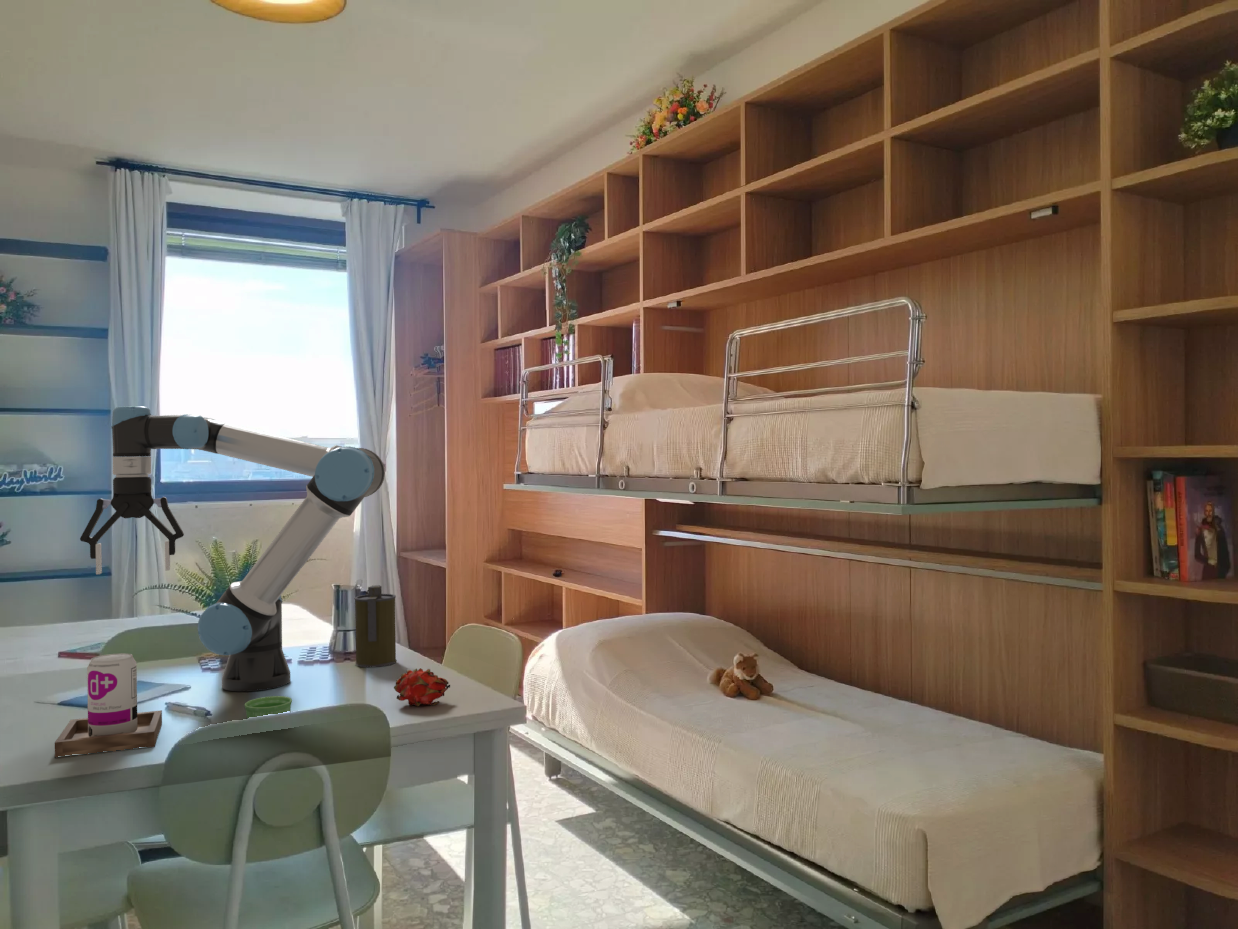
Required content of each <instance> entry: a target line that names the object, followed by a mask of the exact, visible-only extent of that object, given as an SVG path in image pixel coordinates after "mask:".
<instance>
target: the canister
mask: <svg viewBox="0 0 1238 929" xmlns="http://www.w3.org/2000/svg"><path fill="white" fill-rule="evenodd" d="M382 591H383V590H382V585H379V584H378V585H371V586H368V587H367V590H366V592H365V594H361V595H357V596H355V597H354V604H355V605H354V608H355V611H354V612H355V614H354V615H355V666H357V667H361V668H368V669H369V668H382V667H388V666H392V665H394V664H396V663H397V658H396V657H397V656H396V655H397V654H396V653H397V652H396V651H397V650H396V649H397V648H396V647H397V646H396V644H397V643H396V594H391V593H382Z"/></svg>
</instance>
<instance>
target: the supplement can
mask: <svg viewBox="0 0 1238 929" xmlns="http://www.w3.org/2000/svg"><path fill="white" fill-rule="evenodd" d="M137 664H138V662H137V661H136V660H135V658H134V657H133V654H132V653H121V652H119V653H110V654H102V655H98V656H94V657H92V658H90V662H89V663H88V664H87V668H86V674H87V675H86V676H87V677H86V678H87V679H86V681H87V718H88V736H89V737H95V736H104V735H113V734H122V733H131V732H135V731H136V730H137V729H138V727H137V713H138V674H137V673H138V672H137V670H138V668H137V667H138V665H137Z"/></svg>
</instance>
